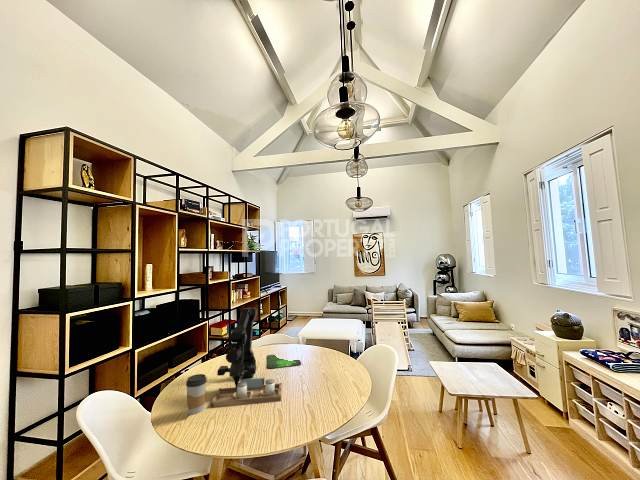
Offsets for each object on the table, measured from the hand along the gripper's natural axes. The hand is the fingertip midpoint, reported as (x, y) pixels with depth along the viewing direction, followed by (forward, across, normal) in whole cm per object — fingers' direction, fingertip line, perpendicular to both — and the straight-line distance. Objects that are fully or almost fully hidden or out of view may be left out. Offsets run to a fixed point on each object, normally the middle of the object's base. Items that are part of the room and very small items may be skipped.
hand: (236, 387), depth 133 cm
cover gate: (0, +8, 0) cm, 8 cm away
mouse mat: (+2, +22, +41) cm, 47 cm away
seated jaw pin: (+1, +5, -10) cm, 11 cm away
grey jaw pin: (0, +18, -10) cm, 20 cm away
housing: (+2, +8, -8) cm, 11 cm away
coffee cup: (+3, -14, -17) cm, 22 cm away
